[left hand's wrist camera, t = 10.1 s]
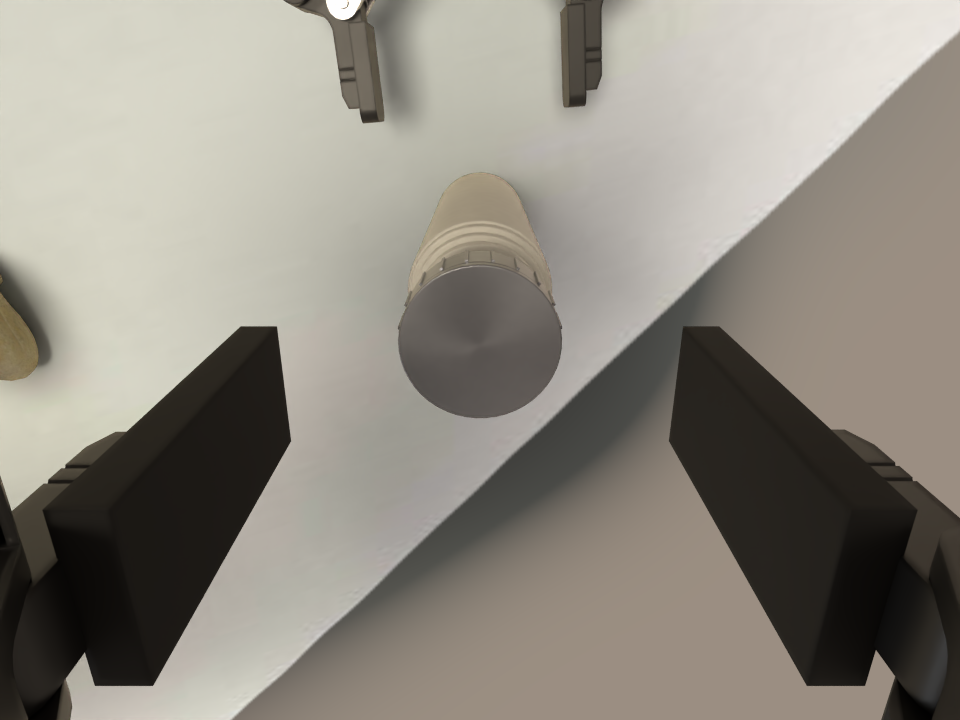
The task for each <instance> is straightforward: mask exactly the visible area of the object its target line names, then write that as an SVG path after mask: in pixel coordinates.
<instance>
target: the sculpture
mask: <svg viewBox="0 0 960 720" xmlns="http://www.w3.org/2000/svg"><path fill="white" fill-rule="evenodd" d="M2 281H3V280H2V277H1V275H0V284H2ZM37 363H38V348H37V345H36V342H35V339H34V337H33V335H32V333H31V331H30V330H29V328H28V326H27V325H26V324H25V322H24V321H23V319H22V318H21V317H20V315H19V314H18V313H17V312H16V311H15V310H14V309H13V308H12V307H11V305H10V304H9V303H8V302H7V300H6V299H5V298H4V297H3V296H2V294H1V293H0V380H10V381H13V380H17V379H22V378H25V377H27V376H28V375H30V374H31V373H32V372H33V371H34V369H35V368H36V366H37Z"/></svg>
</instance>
